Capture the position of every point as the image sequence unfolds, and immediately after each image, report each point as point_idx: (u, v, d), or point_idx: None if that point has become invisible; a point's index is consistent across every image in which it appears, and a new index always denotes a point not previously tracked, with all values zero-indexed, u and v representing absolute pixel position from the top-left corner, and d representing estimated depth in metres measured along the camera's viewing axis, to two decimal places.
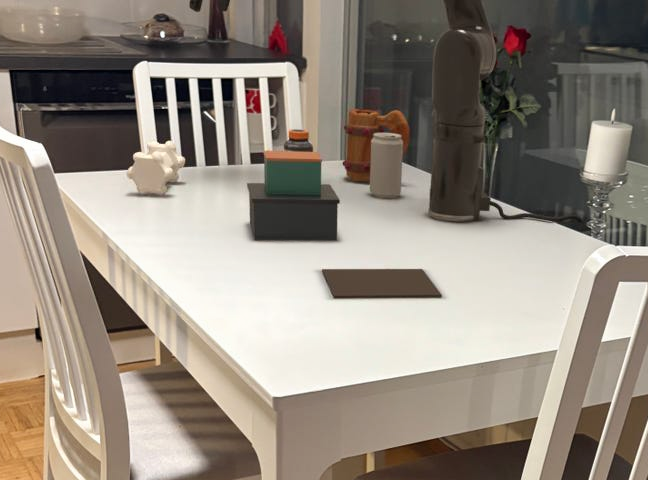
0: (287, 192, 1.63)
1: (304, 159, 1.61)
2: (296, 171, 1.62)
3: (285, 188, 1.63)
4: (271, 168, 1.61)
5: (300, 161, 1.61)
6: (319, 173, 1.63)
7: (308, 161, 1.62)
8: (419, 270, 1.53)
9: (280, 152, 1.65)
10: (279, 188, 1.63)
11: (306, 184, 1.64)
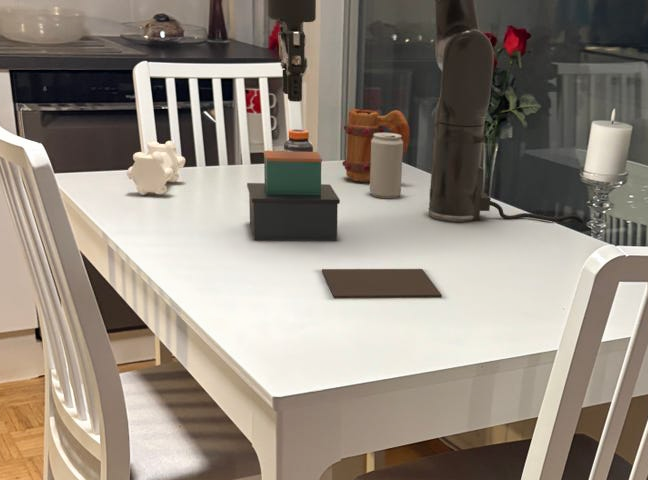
0: (287, 192, 1.63)
1: (304, 159, 1.61)
2: (296, 171, 1.62)
3: (285, 188, 1.63)
4: (271, 168, 1.61)
5: (300, 161, 1.61)
6: (319, 173, 1.63)
7: (308, 161, 1.62)
8: (419, 270, 1.53)
9: (280, 152, 1.65)
10: (279, 188, 1.63)
11: (306, 184, 1.64)
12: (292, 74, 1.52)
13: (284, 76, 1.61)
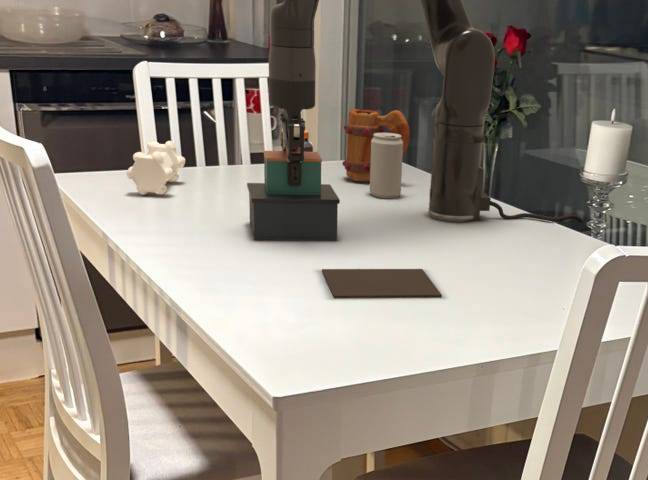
0: (287, 192, 1.63)
1: (304, 159, 1.61)
2: None
3: (285, 188, 1.63)
4: (271, 168, 1.61)
5: None
6: (319, 173, 1.63)
7: (308, 161, 1.62)
8: (419, 270, 1.53)
9: (280, 152, 1.65)
10: (279, 188, 1.63)
11: (306, 184, 1.64)
12: (292, 162, 1.59)
13: None
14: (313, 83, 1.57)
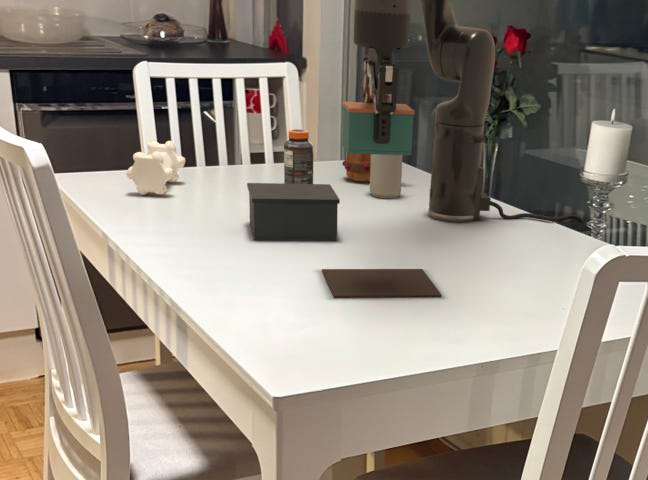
0: (372, 150, 1.36)
1: None
2: None
3: (370, 146, 1.36)
4: (354, 121, 1.34)
5: None
6: (410, 128, 1.36)
7: (398, 113, 1.34)
8: (419, 270, 1.53)
9: (363, 103, 1.37)
10: (362, 146, 1.35)
11: (395, 141, 1.36)
12: (381, 113, 1.32)
13: None
14: (408, 17, 1.30)
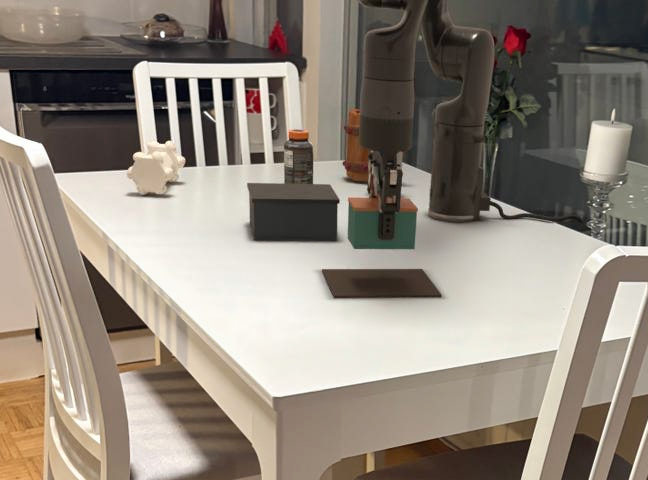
0: (377, 246, 1.41)
1: None
2: None
3: (374, 242, 1.40)
4: (359, 219, 1.38)
5: None
6: (414, 224, 1.40)
7: (402, 211, 1.39)
8: (419, 270, 1.53)
9: (368, 199, 1.42)
10: (367, 242, 1.40)
11: (398, 237, 1.41)
12: (385, 212, 1.37)
13: None
14: (412, 121, 1.35)
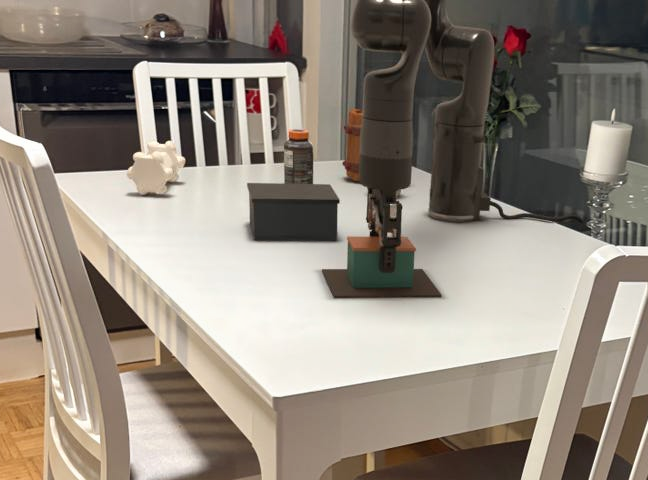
0: (376, 284, 1.44)
1: (396, 248, 1.42)
2: None
3: (373, 280, 1.43)
4: (358, 259, 1.41)
5: None
6: (412, 263, 1.43)
7: (400, 250, 1.42)
8: (419, 270, 1.53)
9: (366, 238, 1.45)
10: (366, 280, 1.43)
11: (397, 275, 1.44)
12: (386, 246, 1.38)
13: None
14: (410, 160, 1.37)
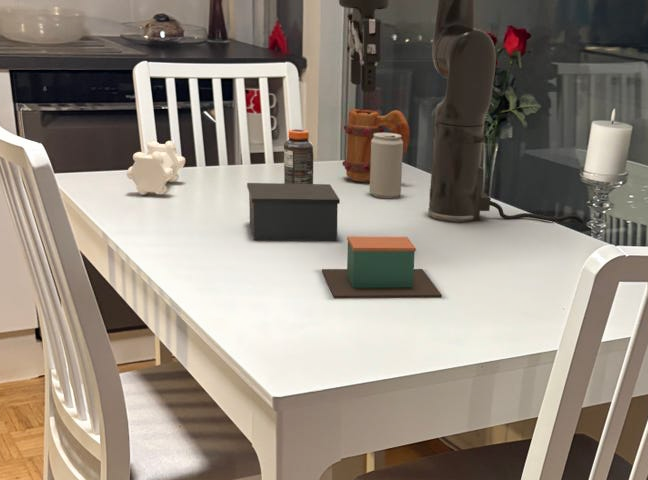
0: (376, 284, 1.44)
1: (396, 248, 1.42)
2: (386, 262, 1.42)
3: (373, 280, 1.43)
4: (358, 259, 1.41)
5: (391, 251, 1.42)
6: (412, 263, 1.43)
7: (400, 250, 1.42)
8: (419, 270, 1.53)
9: (366, 238, 1.45)
10: (366, 280, 1.43)
11: (397, 275, 1.44)
12: (366, 63, 1.47)
13: (353, 66, 1.56)
14: None
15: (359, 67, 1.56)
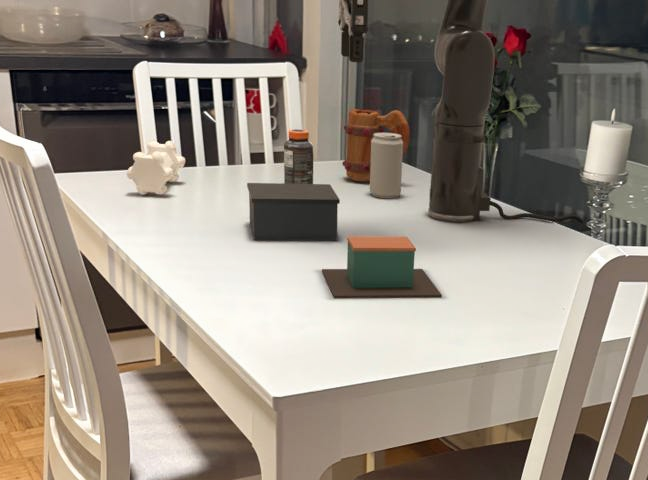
0: (376, 284, 1.44)
1: (396, 248, 1.42)
2: (386, 262, 1.42)
3: (373, 280, 1.43)
4: (358, 259, 1.41)
5: (391, 251, 1.42)
6: (412, 263, 1.43)
7: (400, 250, 1.42)
8: (419, 270, 1.53)
9: (366, 238, 1.45)
10: (366, 280, 1.43)
11: (397, 275, 1.44)
12: (354, 34, 1.53)
13: (343, 38, 1.62)
14: None
15: None
